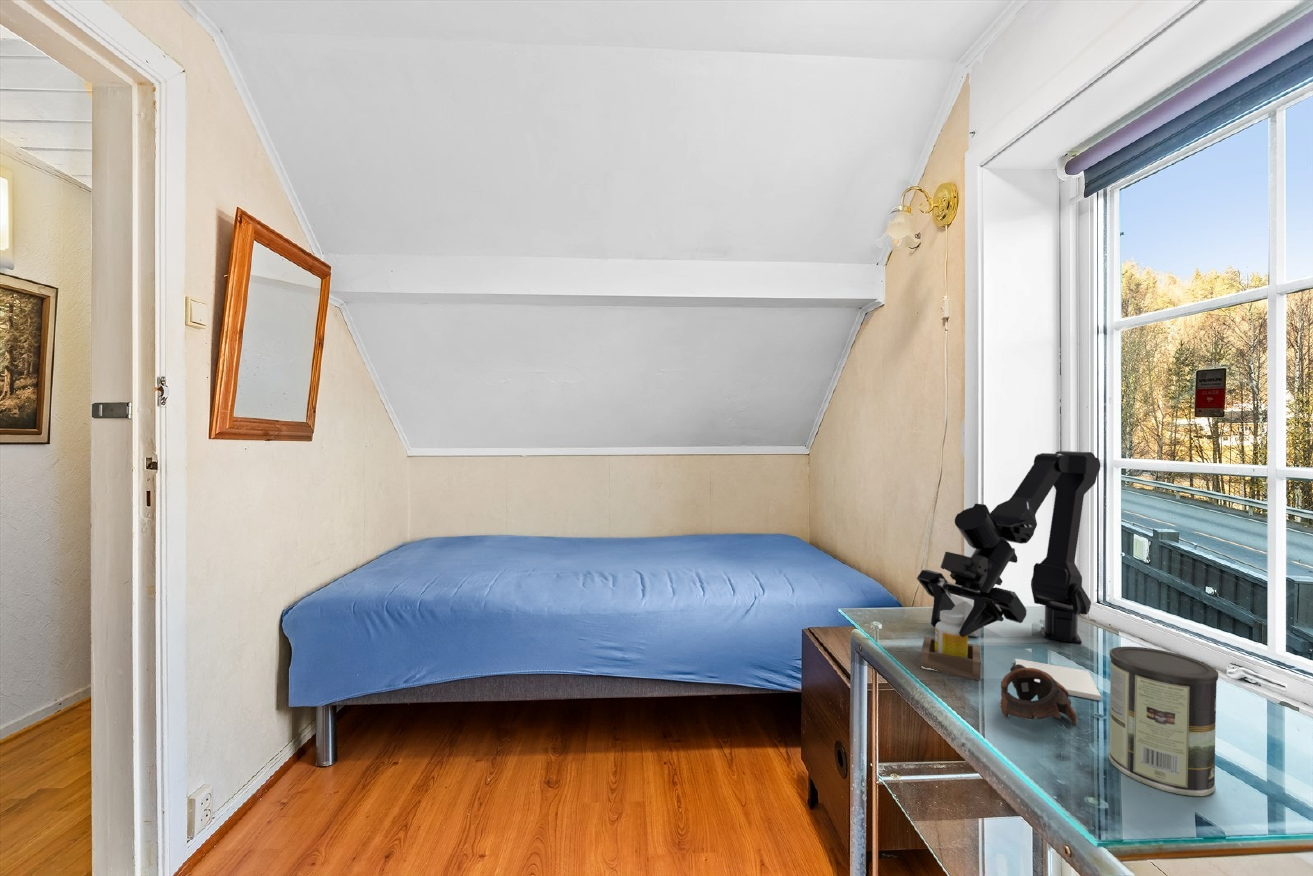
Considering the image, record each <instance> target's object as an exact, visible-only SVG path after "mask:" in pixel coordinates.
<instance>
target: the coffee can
mask: <svg viewBox="0 0 1313 876" xmlns="http://www.w3.org/2000/svg"><path fill="white" fill-rule="evenodd" d="M1109 659H1110V680H1109V681H1110V687H1109V689H1110V690H1109V691H1110V692H1109V694H1110V695H1109V696H1110V697H1109V698H1110V699H1109V741H1108V742H1109V744H1108V745H1109V747H1108V748H1109V749H1108V751H1109V752H1108V761H1109V762H1110V763H1111V764H1112V766H1113V767H1115V768H1116V769H1117V770H1118V771H1120V772H1121V773H1122V774H1124V775H1126V776H1128V777H1130V778H1131V779H1133V780H1135V781H1136V782H1140V783H1141V784H1144V785H1147V786H1149V787H1152V788H1155V789H1157V790H1160V791H1164V792H1167V793H1172V794H1178V795H1183V796H1189V797H1190V796H1191V797H1205V796H1209V795H1212V794H1213V793H1215V791H1216V782H1215V780H1216V777H1215V775H1216V721H1217V719H1216V718H1217V717H1216V716H1217V685H1218V679H1219V672H1218V671H1217V669H1215V668H1214V667H1212V666H1211V665H1210V664H1207V663H1205V662H1203V661H1200V660H1198V659H1195V658H1192V657H1189V656H1186V655H1184V654H1180V653H1175V652H1171V651H1165V650H1161V649H1156V648H1155V649H1154V648H1151V647H1150V648H1148V647H1143V646H1142V647H1140V646H1116V647H1113V648H1111V649H1110V650H1109Z"/></svg>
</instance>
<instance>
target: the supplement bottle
mask: <svg viewBox="0 0 1313 876" xmlns="http://www.w3.org/2000/svg"><path fill="white" fill-rule="evenodd" d="M940 620H941V621H939V622H938V623H937V624H936V626H935V627H934V638H935V653H941V654H946V655H952V656H958V657H963V658H967V654H968V644H969V636H968V635H967V636H965V637H961V636H960V634H959V632H960V629H961V627H962V625H963V623H964V621H965V617H964V614H963V613H961V612H958V611H953V610H942V611H940Z"/></svg>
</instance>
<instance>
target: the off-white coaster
mask: <svg viewBox="0 0 1313 876" xmlns="http://www.w3.org/2000/svg"><path fill="white" fill-rule="evenodd" d="M1017 664H1020V665H1023V666H1024V667H1026V668H1035V669H1039V670H1041V671H1044V672H1046V673H1048V674H1049V675H1050V676H1052V678H1053V679H1054V680H1055V681H1057V682H1058V683H1059V684H1061V685H1062V686H1063V687H1064V688H1065V689H1066V690H1067V692H1068V693H1069V695H1068V696H1075V697H1079V698H1085V699H1089V700H1095V701H1099V702H1100V701H1102V695H1101V693H1100V691H1099V690H1098V687H1097V685H1096V683H1095V682H1094V680H1093V677H1092V676H1091V673H1090V671H1088V670H1083V669H1078V668H1072V667H1066V666H1061V665H1055V664H1050V663H1049V664H1048V663H1043V662H1037V661H1031V660H1025V659H1020V658H1014V666H1015V665H1017ZM1034 681H1036V682H1039V683H1040V680H1039V679H1035V680H1034Z"/></svg>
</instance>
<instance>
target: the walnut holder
mask: <svg viewBox="0 0 1313 876" xmlns="http://www.w3.org/2000/svg"><path fill="white" fill-rule="evenodd" d="M981 658H982V657H981V645H978V644H971V643H968V654H967V658H963V657H958V656H952V655H946V654H941V653H935V637H931V636H926V635H925V636H923V642H922V647H921V651H920V667H921V666H923V667H925V668H931V669H934V670H937V671H939V672H938V673H940V672H943V673H942V674H945V673H948V674H947V675H950V674H951V676H954V677H955V676H956V677H961V678H966V679H971V680H972V679H973V680H976V681H981V680H982V679H981V676H982V659H981Z"/></svg>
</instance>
